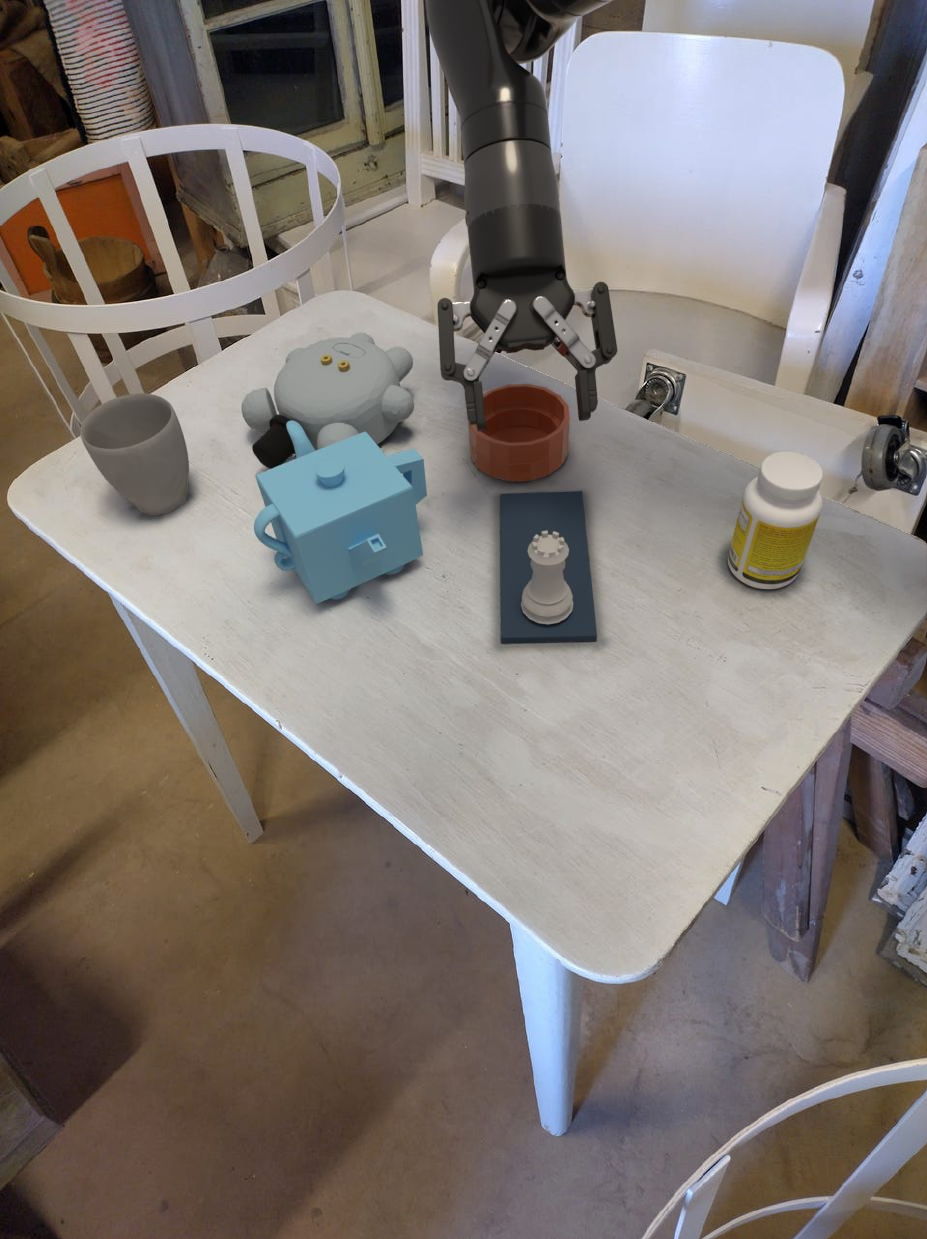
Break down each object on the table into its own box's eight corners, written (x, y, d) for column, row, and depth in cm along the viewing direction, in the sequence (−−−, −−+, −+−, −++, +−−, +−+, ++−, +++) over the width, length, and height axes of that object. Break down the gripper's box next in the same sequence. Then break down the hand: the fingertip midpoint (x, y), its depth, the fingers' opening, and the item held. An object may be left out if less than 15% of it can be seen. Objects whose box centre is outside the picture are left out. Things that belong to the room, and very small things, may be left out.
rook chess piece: (545, 580, 72) (546, 514, 66) (583, 606, 70) (588, 540, 64) (510, 608, 70) (508, 543, 64) (549, 636, 68) (550, 571, 62)
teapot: (313, 654, 69) (281, 563, 61) (240, 531, 80) (205, 438, 71) (472, 579, 74) (464, 483, 65) (384, 471, 84) (367, 377, 76)
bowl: (564, 421, 88) (566, 381, 84) (570, 483, 81) (572, 443, 77) (471, 425, 88) (469, 385, 84) (470, 486, 82) (467, 447, 78)
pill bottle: (813, 570, 72) (851, 473, 63) (764, 603, 70) (796, 507, 61) (760, 531, 75) (789, 435, 67) (711, 561, 73) (734, 465, 65)
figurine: (340, 356, 97) (222, 461, 90) (321, 293, 91) (191, 401, 83) (455, 402, 90) (338, 521, 82) (444, 337, 83) (314, 460, 75)
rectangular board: (500, 499, 80) (500, 493, 80) (581, 496, 80) (582, 490, 79) (501, 643, 69) (501, 637, 68) (596, 641, 68) (597, 635, 68)
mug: (222, 491, 84) (192, 414, 76) (151, 539, 80) (112, 462, 72) (155, 447, 89) (121, 370, 82) (86, 490, 85) (43, 413, 78)
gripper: (423, 210, 62) (447, 427, 63) (610, 190, 62) (629, 407, 63) (426, 246, 69) (447, 440, 70) (593, 228, 69) (611, 422, 71)
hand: (533, 424), depth 67 cm, fingers open, 8 cm apart
